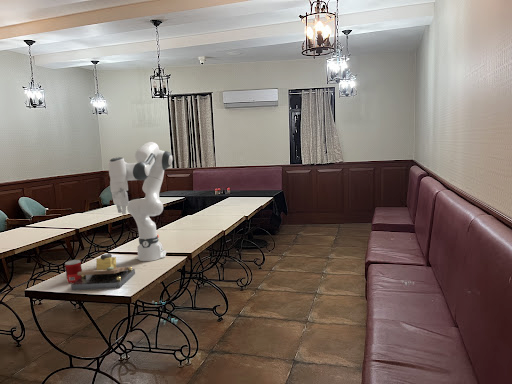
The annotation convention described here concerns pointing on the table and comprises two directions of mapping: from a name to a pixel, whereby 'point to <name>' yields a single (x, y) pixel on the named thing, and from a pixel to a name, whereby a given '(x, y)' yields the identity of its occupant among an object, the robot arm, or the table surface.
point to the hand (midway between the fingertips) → (121, 213)
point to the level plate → (118, 269)
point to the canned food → (73, 270)
